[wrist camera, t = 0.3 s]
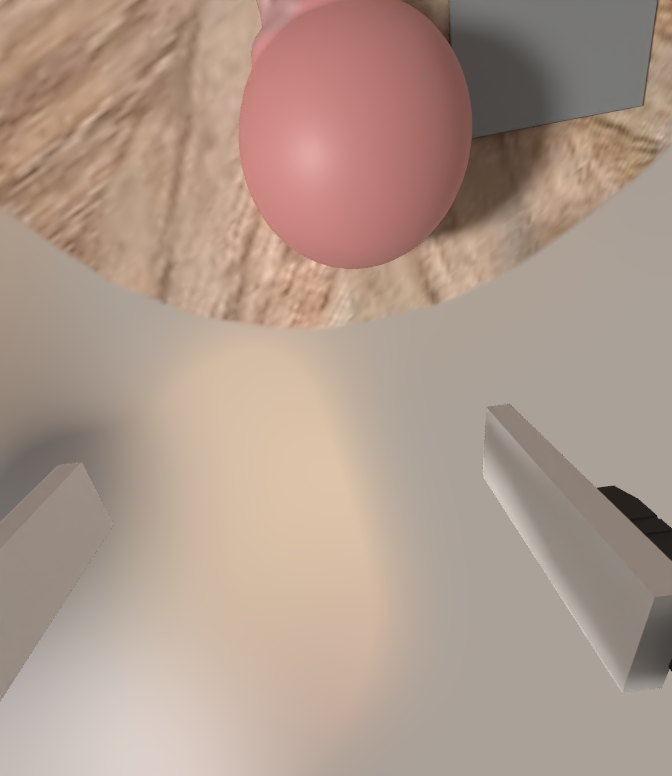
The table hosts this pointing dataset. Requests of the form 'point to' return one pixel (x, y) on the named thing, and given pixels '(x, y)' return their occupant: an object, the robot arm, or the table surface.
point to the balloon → (353, 128)
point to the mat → (550, 58)
